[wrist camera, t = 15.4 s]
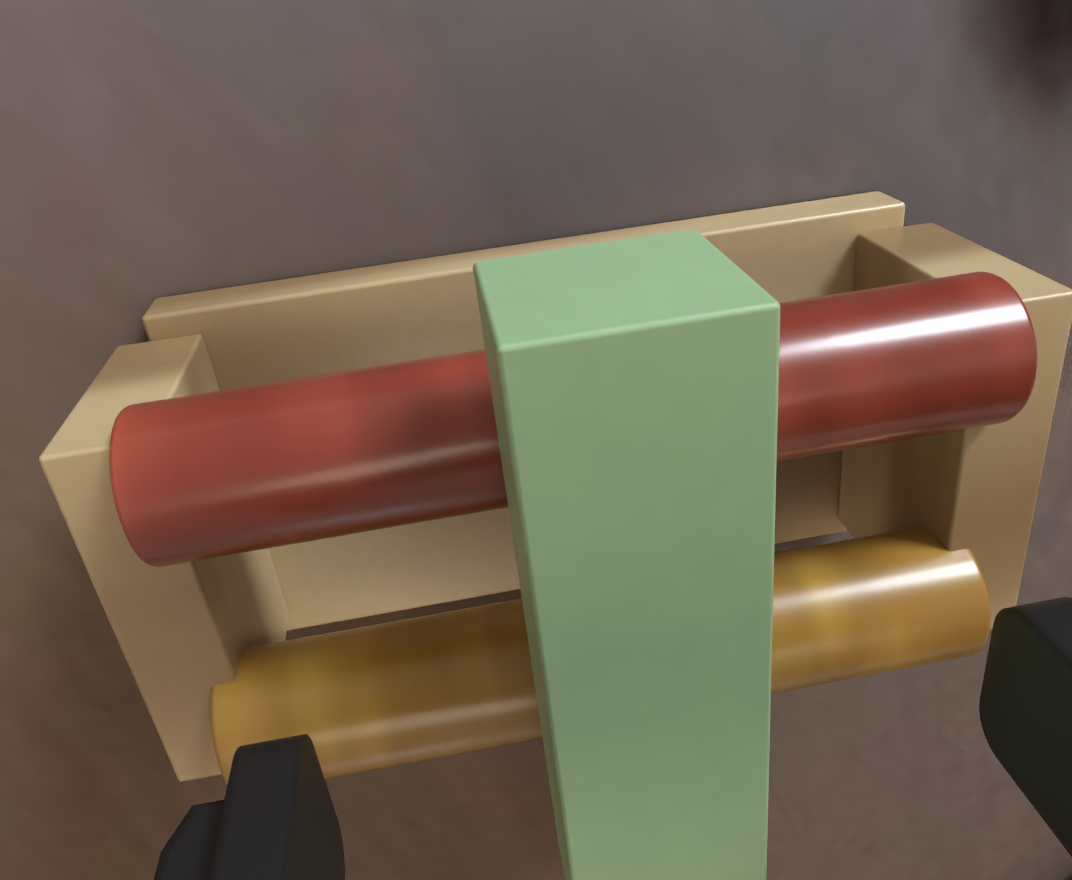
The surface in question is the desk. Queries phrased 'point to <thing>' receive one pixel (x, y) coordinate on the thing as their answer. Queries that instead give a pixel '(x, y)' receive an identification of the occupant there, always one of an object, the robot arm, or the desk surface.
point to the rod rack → (480, 495)
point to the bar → (643, 543)
